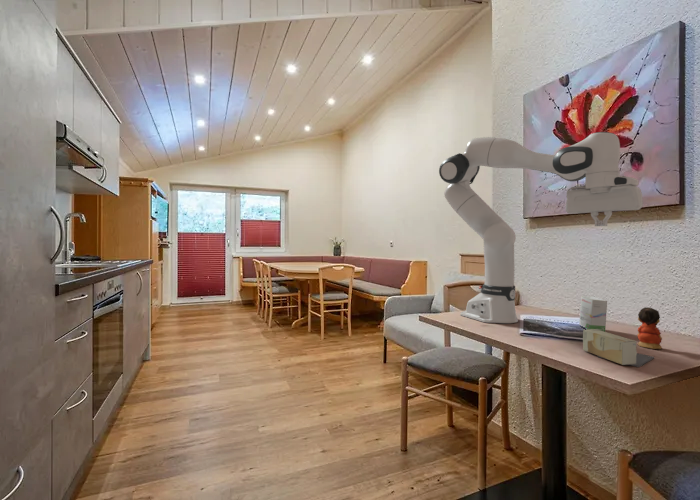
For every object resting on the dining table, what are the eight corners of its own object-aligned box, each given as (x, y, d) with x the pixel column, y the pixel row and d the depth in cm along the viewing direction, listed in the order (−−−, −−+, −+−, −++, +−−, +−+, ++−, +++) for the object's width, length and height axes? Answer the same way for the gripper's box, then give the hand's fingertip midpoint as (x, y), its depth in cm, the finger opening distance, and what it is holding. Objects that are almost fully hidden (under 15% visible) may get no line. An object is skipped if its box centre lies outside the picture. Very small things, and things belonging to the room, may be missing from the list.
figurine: (666, 351, 98) (668, 310, 98) (643, 349, 100) (644, 309, 100) (655, 345, 104) (656, 306, 104) (633, 343, 106) (634, 305, 106)
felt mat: (597, 357, 93) (597, 355, 93) (614, 349, 100) (614, 348, 100) (638, 367, 86) (638, 365, 86) (654, 358, 92) (654, 356, 92)
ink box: (578, 326, 126) (579, 295, 126) (594, 327, 125) (595, 296, 125) (590, 332, 118) (591, 299, 118) (607, 333, 117) (607, 300, 117)
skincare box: (582, 329, 98) (622, 340, 85) (595, 328, 98) (637, 339, 86) (582, 351, 98) (622, 365, 86) (595, 350, 98) (637, 364, 86)
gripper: (562, 186, 115) (561, 226, 116) (638, 177, 98) (636, 224, 99) (570, 188, 119) (570, 227, 119) (645, 179, 102) (644, 225, 102)
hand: (600, 226), depth 109 cm, fingers closed
